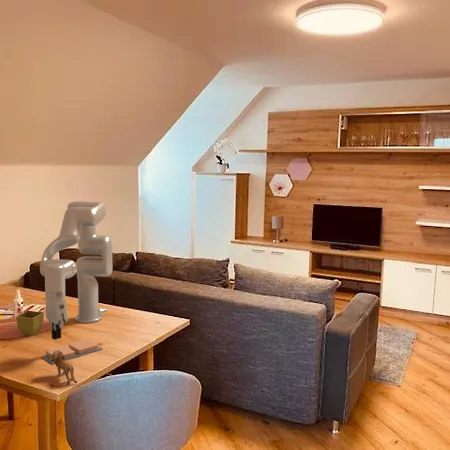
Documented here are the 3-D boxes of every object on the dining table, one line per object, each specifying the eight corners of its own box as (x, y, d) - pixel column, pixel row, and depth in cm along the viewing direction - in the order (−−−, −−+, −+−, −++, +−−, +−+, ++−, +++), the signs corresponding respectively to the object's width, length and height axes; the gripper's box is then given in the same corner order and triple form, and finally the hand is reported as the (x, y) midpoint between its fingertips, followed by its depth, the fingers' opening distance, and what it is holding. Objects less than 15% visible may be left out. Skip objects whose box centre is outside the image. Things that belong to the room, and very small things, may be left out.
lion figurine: (47, 374, 171) (46, 351, 170) (60, 369, 175) (59, 347, 174) (71, 387, 162) (70, 362, 161) (84, 381, 166) (83, 357, 165)
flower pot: (33, 337, 205) (32, 318, 204) (15, 336, 207) (15, 316, 206) (45, 331, 214) (44, 312, 212) (28, 329, 215) (27, 310, 214)
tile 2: (86, 339, 200) (97, 345, 193) (86, 343, 200) (97, 349, 194) (68, 344, 194) (79, 350, 188) (68, 348, 194) (79, 354, 188)
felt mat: (91, 343, 201) (91, 342, 201) (102, 349, 195) (102, 348, 195) (41, 357, 185) (41, 356, 185) (52, 364, 179) (52, 363, 179)
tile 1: (64, 345, 192) (75, 351, 186) (64, 349, 193) (75, 355, 187) (45, 350, 187) (56, 357, 181) (45, 354, 187) (56, 361, 181)
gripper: (73, 296, 183) (74, 341, 186) (55, 289, 193) (56, 331, 196) (55, 300, 178) (56, 346, 180) (37, 292, 188) (39, 335, 190)
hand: (56, 338), depth 188 cm, fingers closed
